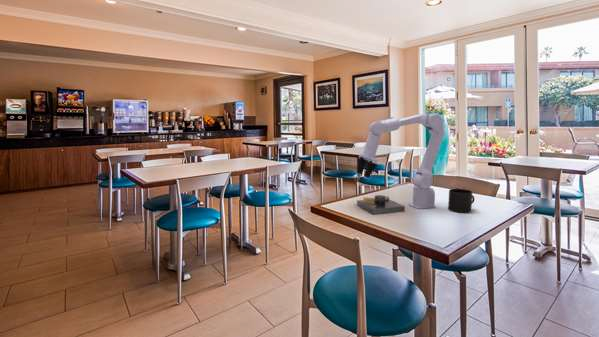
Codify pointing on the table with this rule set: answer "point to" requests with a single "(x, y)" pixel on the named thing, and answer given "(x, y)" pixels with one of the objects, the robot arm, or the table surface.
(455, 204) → the mug
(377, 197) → the level knob
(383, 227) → the table surface
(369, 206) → the tribrach base
